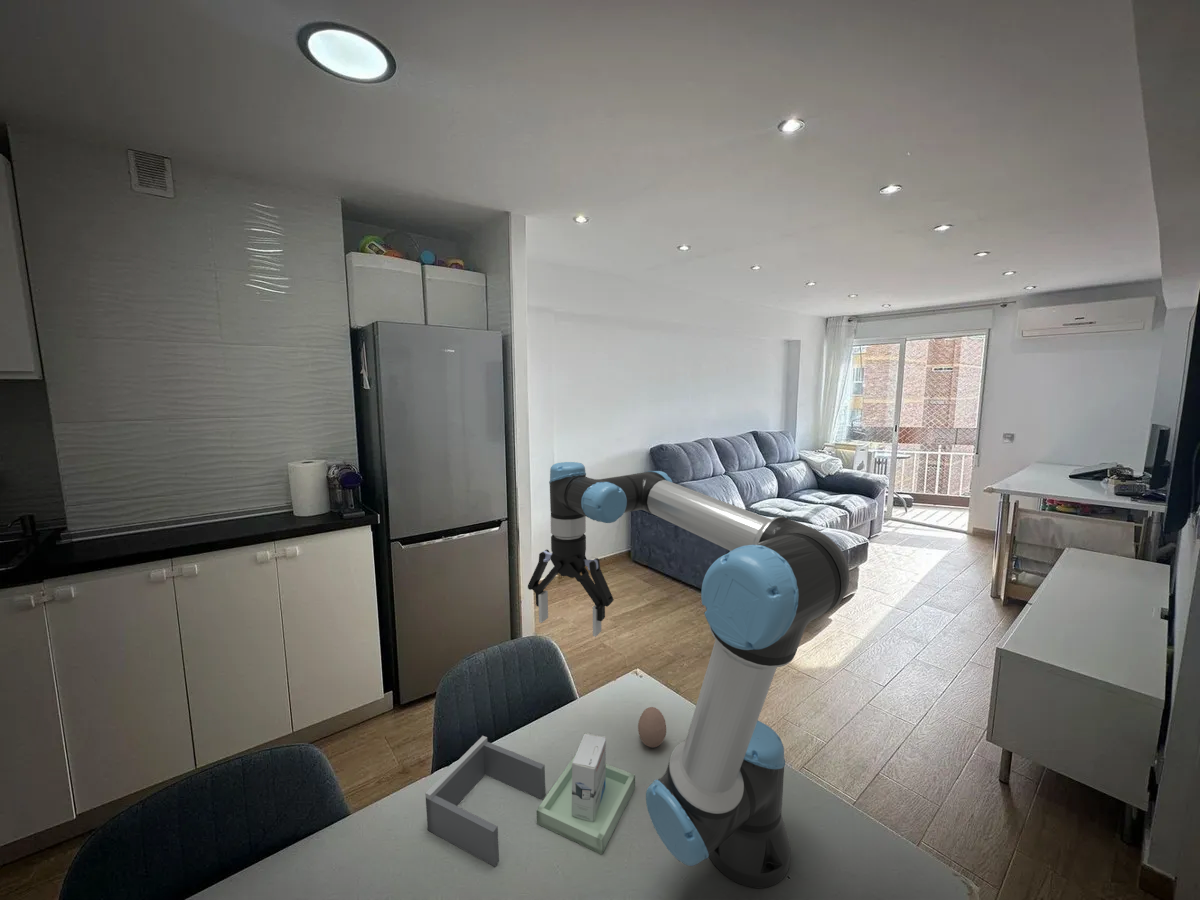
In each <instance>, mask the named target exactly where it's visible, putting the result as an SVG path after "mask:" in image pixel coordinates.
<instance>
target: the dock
mask: <svg viewBox="0 0 1200 900" xmlns="http://www.w3.org/2000/svg"><path fill="white" fill-rule="evenodd" d="M545 767H546V765H545V764H543V763H541V762H540V761H536V760H534V759H531V758H529V757H526V756H524V755H522V754H518V753H516V752H513V751H512V750H510V749H507V748H503V747H501V746H499V745H497V744H494V743H492V742H489V741H488V737H487V736H484V735H481V737H479V739H478V740H477V741H476V742H475V743H474V744H473V745H471V747H470V748H469V749H468V750H467V751H466V752H465V753H464V754H462V756H461V757H460V758H459V759H458V760H457V761H455V763H454V764H453V765H451V767H450V768H449V769H448V770H447V771H446V772H445V773H443V775H441V777H440V778H439V779H438V780H437V781H436V782H435V783H433V784H432V786H430V787H429V789H428V790H427V791H426V792H425V808H426V824H427V831H428V832H430V833H432V834H433V835H435V836H437V837H439V838H440V839H443V840H444V841H447V842H448V843H450V844H452V845H454V846H456V847H458V848H459V849H462V850H463V851H464V852H467V853H469V854H470V855H472V856H474V857H475V858H478V859H480V860H481V861H483V862H485V863H486V864H489V865H490V866H493V867H494V868H495V867H496V866H497V865H498V863H499V862H500V851H499V845H500V844H499V829H498V828H499V827H498V825H496V824H495V823H492V822H490V821H488V820H486V819H483V818H482V817H479V816H478V815H475V814H474V813H472V812H470V811H468V810H465V809H464V808H462V807H460V806H458V805H459V804H460V803H461V802H462V800H463V799H465V797H466V796H467V795H468V794H469V793H470V792H471V790H472V789H474V787H475V786H476V785H477V784H478V783H479V782H480V781H481V780H482V779H483V777H484V776H488V777H490V778H492V779H494V780H497V781H499V782H501V783H504V784H506V785H508V786H510V787H512V788H514V789H517V790H519V791H522V792H524V793H525V794H528V795H531V796H533V797H535V798H537V799H540V800H541V801H543V800H544V799H545V797H546V769H545Z"/></svg>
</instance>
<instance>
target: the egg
mask: <svg viewBox="0 0 1200 900" xmlns="http://www.w3.org/2000/svg"><path fill="white" fill-rule="evenodd" d="M637 732H638V735H639V738H640V740H641V742H642V743H643V744H644V745H646V747H649V748H657V747H659V746H661V744H662V743H663V742H664V740H665V739H666V735H667V721H666V719H665V717H664V714H663V713H662V712H661V711H660V709H658V708H657V707H654V706H649V707H647V708H645V709H644V710H643V711H642V713H641V714H640V716H639V719H638V724H637Z"/></svg>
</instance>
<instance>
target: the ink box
mask: <svg viewBox="0 0 1200 900" xmlns="http://www.w3.org/2000/svg"><path fill="white" fill-rule="evenodd" d="M606 746H607V737H606V736H604V735H603V736H602V735H597V734H591V733H586V732H585V733H583V737H582V738H581V741H580V744H579V746H578V749H577V751H576V753H575V754H576V755H575V754H574V756H575V757H574V756H573V757H574V760H573V762H572V816H574V817H577V818H580V819H583V820H587V821H591V822H594V821H595V818H596V815H597V811H598V808H599V805H600V802H601V799H602V796H603V793H604V790H605V774H606V764H607V763H606V760H607V759H606V755H607V754H606V752H607V750H606V749H607V747H606Z"/></svg>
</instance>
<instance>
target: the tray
mask: <svg viewBox="0 0 1200 900" xmlns="http://www.w3.org/2000/svg"><path fill="white" fill-rule="evenodd" d="M575 755H576V753H575V754H574V756H573V757H572V759H571V760H570V761H569V763H568V765H566V767H565V769H564V770H563V771H562V773H561V774H560V776H559V777H558V779H557V780H556V781H555V783H554V785H553V786H552V787H551V789H550V790H549V792H548V793H547V794H546V795H545V797H544V798H543V800H541V802H540V804H539V806H538V807H537V809H535V811H536V825H539V826H541V827H542V828H544V829H546V830H549V831H551V832H553V833H556V834H557V835H560V837H561V836H562V837H564V838H566V839H568V840H570V841H572V842H574V843H576V844H578V845H580V846H582V847H584V848H587V849H589V850H591V851H593V852H596V853H598V854H599V855H603V854H604V851H605V849H606V847H607V846H608V843H609V842H610V839H611V837H612V836H613V833H614V831H615V829H616V827H617V825H618V823H619V821H620V819H621V817H622V816H623V813H624V811H625V809H626V807H627V805H628V803H629V801H630V799H631V796H633V793H634V791H635V789H636V774H634V773H631V772H629V771H626V770H623V769H621V768H618V767H615V766H613V765H611V764H608V763H606V774H605V790H604V793H603V796H602V799H601V802H600V805H599V808H598V811H597V815H596V818H595V821H594V822H591V821H587V820H583V819H580V818H577V817H574V816H572V762H573V760H574V757H575Z"/></svg>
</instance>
